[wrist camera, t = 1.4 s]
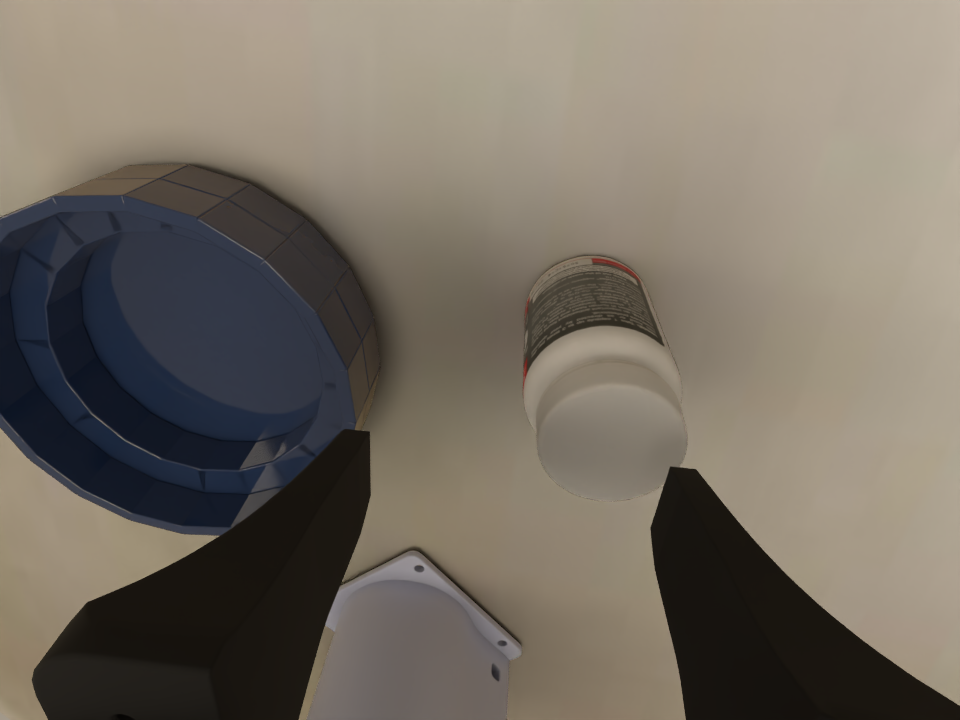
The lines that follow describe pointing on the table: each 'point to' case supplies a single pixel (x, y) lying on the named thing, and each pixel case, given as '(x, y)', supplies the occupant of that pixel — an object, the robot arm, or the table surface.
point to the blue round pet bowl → (177, 344)
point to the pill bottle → (601, 382)
